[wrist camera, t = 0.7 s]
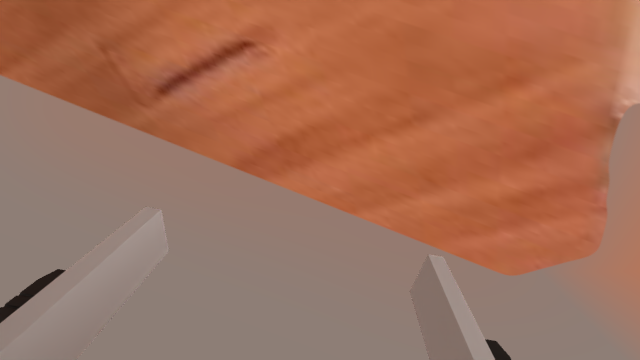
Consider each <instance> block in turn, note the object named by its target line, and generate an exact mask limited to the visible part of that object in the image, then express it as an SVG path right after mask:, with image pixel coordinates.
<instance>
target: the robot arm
mask: <svg viewBox="0 0 640 360" xmlns="http://www.w3.org/2000/svg"><path fill="white" fill-rule="evenodd" d="M168 251H169V249H168V243H167V238H166V232H165V227H164V221H163V217H162V211H161V209H156V208H151V207H144V208H143V209H142V210H141V211H140V212H138V213H137V214H136V215H134V216H133V217H132V218H131V219H129V220H128V221H127V222H126V223H125V224H123V225H122V226H121V227H119V228H118V229H117V230H116V231H114V232H113V233H112V234H111V235H109V236H108V237H107V238H106V239H105V240H103V241H102V242H101V243H100V244H98V245H97V246H96V247H95V248H93V249H92V250H91V251H90V252H88V253H87V254H86V255H85V256H83V257H82V258H81V259H80V260H78V261H77V262H76V263H75V264H73V265H72V266H71V267H70V268H68V269H67V270H60V269H57V270H55V271H54V272H52V273H50V274H48V275H46V276H44V277H42V278H40V279H38V280H36V281H35V282H34V283H33V284H31V285H30V286H29V287H27V288H26V289H25V290H23V291H22V292H21V293H20V295H19V296H16V297H14V298H13V299H12V300H10V301H9V302H8V303H6V304H5V306H4V307H1V308H0V360H77V358H78V357H79V356H80V355H81V354H82V353H83V352H84V350H85V349H86V348H87V347H88V345H89V344H90V343H91V342H92V341H93V340H94V339H95V337H96V336H97V335H98V334H99V333H100V331H101V330H102V329H103V328H104V327H105V326H106V325H107V323H108V322H109V321H110V320H111V319H112V317H113V316H114V315H115V314H116V313H117V312H118V310H119V309H120V308H121V307H122V306H123V305H124V303H125V302H126V301H127V300H128V299H129V297H130V296H131V295H132V294H133V293H134V292H135V290H136V289H137V288H138V287H139V286H140V284H141V283H142V282H143V281H144V280H145V278H147V276H148V275H149V274H150V273H151V272H152V270H153V269H154V268H155V267H156V266H157V265H158V263H159V262H160V261H161V260H162V259H163V258H164V256H165V255H166V254H167V253H168ZM410 294H411V297H412V301H413V304H414V307H415V311H416V315H417V318H418V321H419V325H420V328H421V332H422V335H423V339H424V342H425V346H426V349H427V352H428V356H429V359H430V360H511V358H510V357H509V355H508V354H507V353H506V352H505V351H504V350H503V348H502V347H501V346H500V345H499V344H498V343H497V342H496V341H492V340H486V339H484V337H483V335H482V333H481V331H480V329H479V327H478V325H477V323H476V321H475V319H474V317H473V315H472V313H471V311H470V309H469V307H468V305H467V303H466V301H465V299H464V297H463V295H462V293H461V291H460V289H459V287H458V285H457V283H456V281H455V279H454V277H453V275H452V273H451V271H450V269H449V267H448V265H447V263H446V261H445V259H444V257H441V256H435V255H430V254H428V256H427V258H426V260H425V262H424V264H423V266H422V268H421V270H420V272H419V274H418V276H417V278H416V280H415V282H414V284H413V286H412V288H411V290H410Z"/></svg>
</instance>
